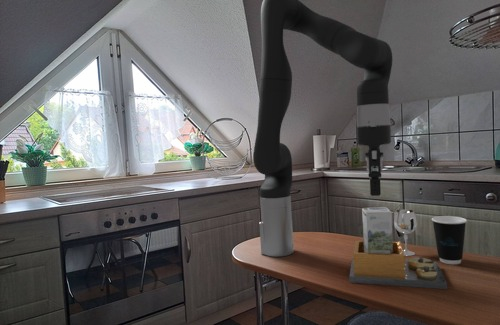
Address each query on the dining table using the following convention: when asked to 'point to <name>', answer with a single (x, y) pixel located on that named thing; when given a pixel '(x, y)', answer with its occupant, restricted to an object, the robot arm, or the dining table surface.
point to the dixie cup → (449, 238)
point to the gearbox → (394, 269)
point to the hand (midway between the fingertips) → (375, 192)
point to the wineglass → (405, 225)
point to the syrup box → (377, 230)
